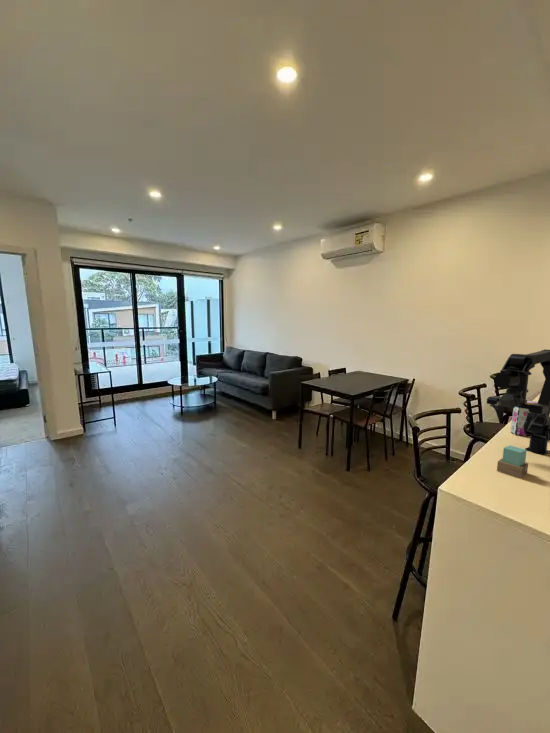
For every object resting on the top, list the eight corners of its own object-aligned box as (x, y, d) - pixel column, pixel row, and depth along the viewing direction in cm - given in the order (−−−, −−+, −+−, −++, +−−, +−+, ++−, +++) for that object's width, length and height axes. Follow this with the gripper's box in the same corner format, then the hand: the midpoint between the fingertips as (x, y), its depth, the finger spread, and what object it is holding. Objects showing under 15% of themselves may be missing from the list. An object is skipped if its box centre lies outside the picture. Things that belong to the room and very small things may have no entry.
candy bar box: (515, 435, 153) (519, 402, 151) (510, 432, 158) (513, 399, 156) (542, 437, 151) (546, 403, 148) (535, 434, 155) (539, 401, 153)
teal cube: (508, 458, 116) (510, 445, 116) (525, 463, 112) (526, 449, 112) (502, 461, 114) (503, 447, 113) (518, 466, 109) (520, 452, 109)
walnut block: (504, 466, 119) (505, 456, 118) (527, 473, 113) (528, 463, 112) (496, 471, 114) (497, 461, 114) (520, 479, 109) (521, 468, 108)
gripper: (480, 384, 127) (477, 422, 129) (537, 393, 111) (532, 436, 113) (495, 382, 132) (492, 418, 134) (551, 390, 116) (546, 431, 118)
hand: (513, 425), depth 125 cm, fingers open, 9 cm apart
